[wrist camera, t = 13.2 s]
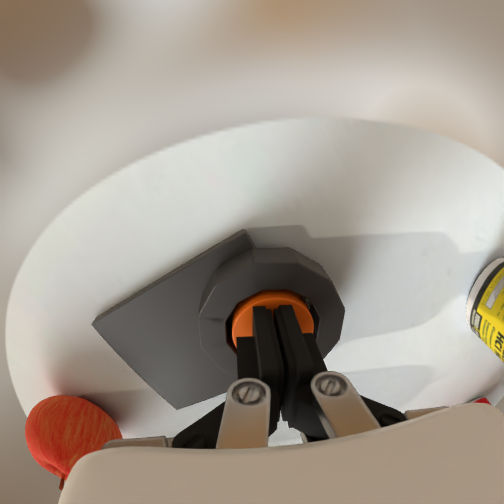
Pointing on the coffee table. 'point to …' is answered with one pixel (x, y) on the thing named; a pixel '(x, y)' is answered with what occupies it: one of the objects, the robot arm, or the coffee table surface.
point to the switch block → (211, 316)
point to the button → (271, 301)
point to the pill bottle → (488, 307)
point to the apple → (67, 432)
